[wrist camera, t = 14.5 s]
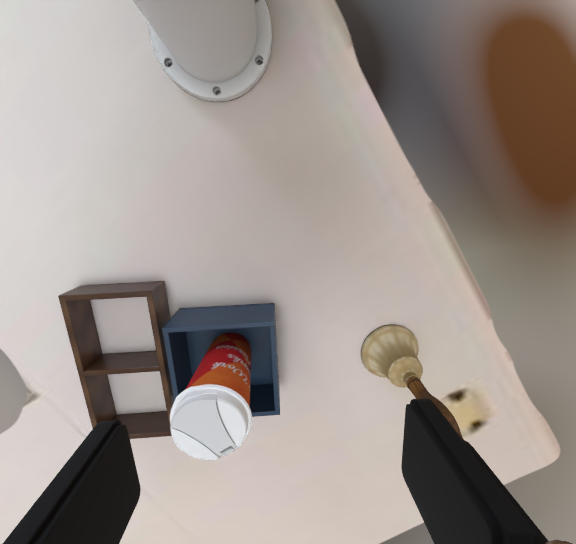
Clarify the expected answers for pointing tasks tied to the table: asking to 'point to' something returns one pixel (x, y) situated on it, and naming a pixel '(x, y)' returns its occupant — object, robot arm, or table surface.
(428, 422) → the robot arm
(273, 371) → the blue square tray
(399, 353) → the hand bell
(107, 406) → the wooden divided tray
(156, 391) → the table surface
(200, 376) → the paper cup
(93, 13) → the table surface
